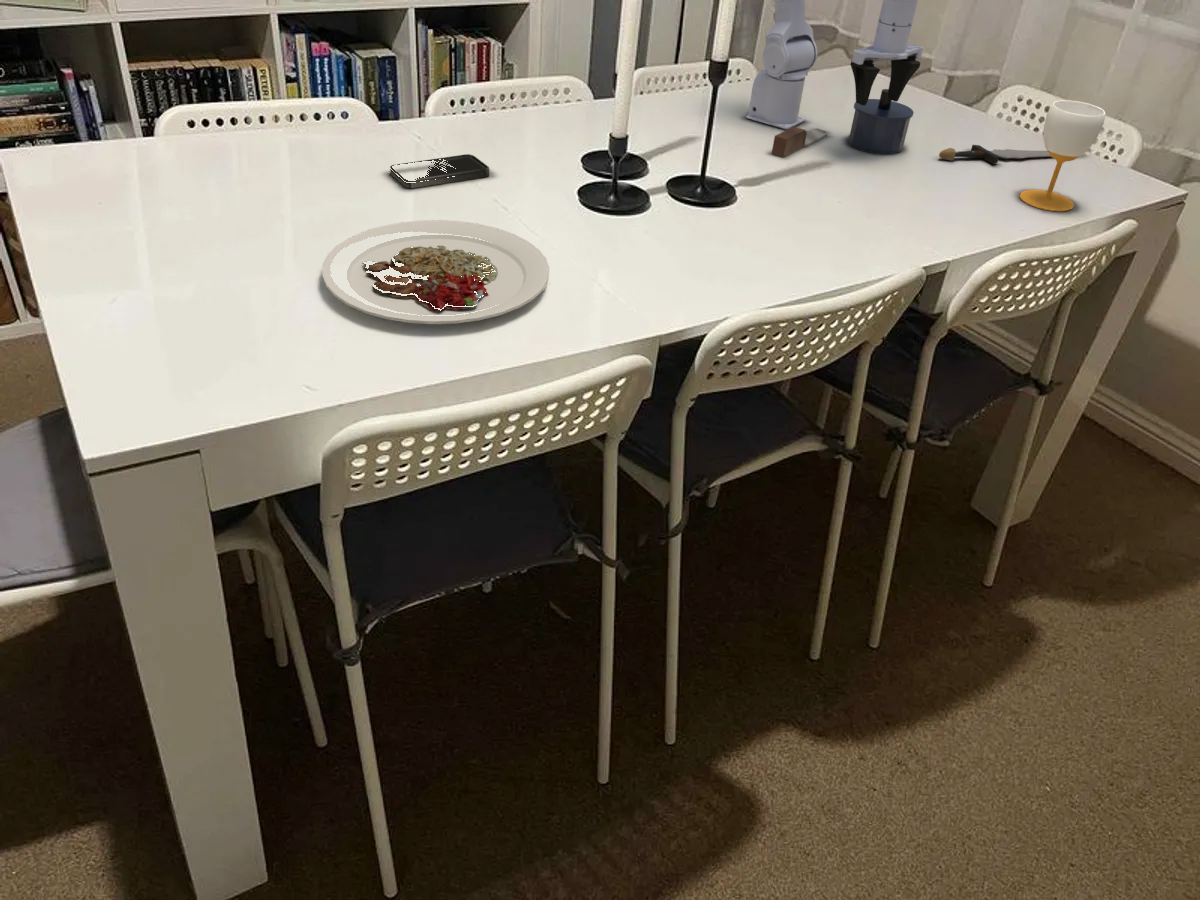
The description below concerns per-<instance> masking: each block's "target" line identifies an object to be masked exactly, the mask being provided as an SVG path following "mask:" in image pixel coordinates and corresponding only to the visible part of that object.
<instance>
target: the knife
mask: <svg viewBox="0 0 1200 900" xmlns="http://www.w3.org/2000/svg"><path fill="white" fill-rule="evenodd" d="M827 136H828V134H827V133H826V130H825V129H821V128H815V129H813V130H810V131H809V132H808V131H807V130H806V129H804V128H800V127H798V126H794V127H792V128H790V129H785V130H784V131H781V132H779V133H778V134H776V135H774V138H773V144H772V150H771V155H774V156H777V157H781V158H785V157H787V156H789V155H791V154H793V153H795V152H797V151H799V150H800V149H801V150H802V149H803V148H806V147H808V146H810V145H812V144H815V143H816V142H818V141H820V140H823V139H824V138H826V137H827Z"/></svg>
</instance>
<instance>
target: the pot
mask: <svg viewBox="0 0 1200 900" xmlns="http://www.w3.org/2000/svg"><path fill="white" fill-rule="evenodd" d="M852 118H853V119H852V123H851V126H850V132H849V137H848V144H849V145H850V146H851V147H853V148H854V149H857V150H860V151H862V152H866V153H870V154H876V155H895V154H898V153H901V152H902V151H903V148H904V145H905V142H906V138H907V132H908V129H909V125H910V121H911V118H909V119H906V120H883V119H877V118H873V117H869V116H866V115H863V114H861V113H859V112H857V111H856V110H855V109H854V113H853V117H852Z"/></svg>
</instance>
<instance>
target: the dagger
mask: <svg viewBox="0 0 1200 900" xmlns="http://www.w3.org/2000/svg"><path fill="white" fill-rule="evenodd" d="M938 156H939V158H940V159H943V160H947V161H954V159H955V158H975V159H982V160H985V161H987V162H988V163H990V164H993V165H994V164H997V163H998V162H999V159H1027V158H1047V157H1048V158H1049V157H1050V158H1052V157H1051V156H1050V154H1049V153H1048V151H1047V150H1025V149H1024V150H1022V149H1020V150H1019V149H1010V148H1008V149H1007V148H1006V149H993V150H988V149H986V148H985V147H983V146H981V145H979V144H972V145H971V148H970V150H962V151H957V150H956V149H955V148H952V147H949V148H946V149H942V150H941V151H940V152H939V154H938Z"/></svg>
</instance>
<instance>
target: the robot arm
mask: <svg viewBox="0 0 1200 900" xmlns="http://www.w3.org/2000/svg"><path fill="white" fill-rule="evenodd" d="M918 1H919V0H882V3H881V7H880V12H879V16H878V19H877V20H878V21H877V26H876V29H875V35H874V39H873V44H872V45H869V46H866V47H863V48H859V49H854V50H853V53H852V58H851V60H850V68H851V70H852V75H853V78H854V88H855V102H856V103H858V104H861V105H866V104H867V101H868V99H870V95H871V91H872V87H873V85H874V82H875V80H876V78H877V76H878V74H879V73H880V71H881V68H879V67H876V66H875V62H876V63H877V62H887V61H890V80H889V84H888V88H887V89H888V99H890V100H892V101H893V102H898V101H899V100H900V97H901V96H902V93H903V92H904V89H905V88H906V86H907V84H908V83H909V81H910V80H911V79H912V77H913V75H914V74H915V73H916V72H917V71H918V70H919V69H920V67H921V61H919V60H920V59H921V58H922V54H923V50H924V47H923V46H920V45H917V44H908V43H909V39H910V34H911V30H912V27H913V22H914V18H915V13H916V10H917V6H918ZM805 4H806V3H805V0H774V19H775V20H774V21H775V23H774V24H773V26H772V27H771V28H770V30H769V31H768V32H767V33H766V35H765V46H764V49H763V52H762V66H763V68H764V69H762V70H760V71H758V73H757V74H756V76H755V78H754V80H753V83H752V87H751V88H752V89H751V94H750V100H749V107H748V114H747V115H745V118H746V119H748V120H751V121H755V122H759V123H762V124H765V125H768V126H772V127H775V128H779V129H783V130H788V129H790V128H792V127H797V126H798V125H800V124H802V123H804V122H806V118H805V117H801V116H799V113H800V108H801V102H802V98H803V92H804V86H805V81H806V76H808V75H809V70H811V69H812V68H813V67H814V66H815V64H816V62H817V59H818V47H817V44H816V41H815V38H814V29H813V28H812V26H811V25H810V24H809V23H808V22H807V21H806V18H805V17H806V11H805V9H806V8H805V7H806V5H805Z"/></svg>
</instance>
